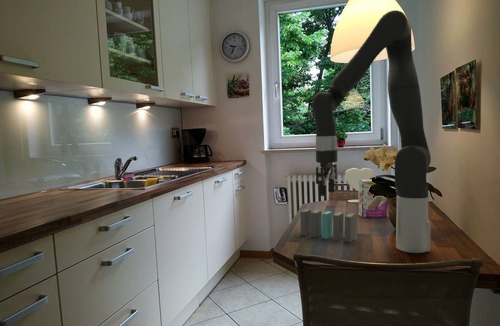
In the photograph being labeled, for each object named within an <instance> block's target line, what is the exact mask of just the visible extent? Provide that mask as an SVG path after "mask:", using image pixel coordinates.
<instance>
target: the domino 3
mask: <svg viewBox="0 0 500 326" xmlns="http://www.w3.org/2000/svg"><path fill="white" fill-rule="evenodd" d="M321 236H322V237H321V238H322V239H323V240H329V239H330V238H331V237H333V211H331V210H328V211H327V210H326V211H325V212H322V234H321Z"/></svg>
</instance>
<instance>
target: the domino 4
mask: <svg viewBox="0 0 500 326" xmlns="http://www.w3.org/2000/svg"><path fill="white" fill-rule="evenodd" d="M344 214H345V213H344V212H339V211H338V212H336V213H334V214H332V241H336V242H339V241H341V240H342V239H344V238H345V215H344Z"/></svg>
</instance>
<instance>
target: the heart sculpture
mask: <svg viewBox="0 0 500 326" xmlns="http://www.w3.org/2000/svg"><path fill="white" fill-rule="evenodd" d="M376 176H377V175H376V171H375V170H374V169H372V168H367V167H363V168H360V169H359V168H357V167H352V168H348V169H347V170H346V171H345V174H344V177H345V181H346V182H347V183H348V185H349V186H350V187H351V188H353V189H355V190H356V191H358V195H357V197H358V199H349V200H347V202H349V203H359V180H371V179H370V178H372V177H375V178H376Z"/></svg>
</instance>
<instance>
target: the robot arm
mask: <svg viewBox="0 0 500 326" xmlns="http://www.w3.org/2000/svg"><path fill="white" fill-rule="evenodd" d="M412 45H413V44H412V25H411V22H410V19H409V18H408V17H407V16H406V14H405V13H404V12H402V11H401V10H396V9H395V10H390V11H388V12H386V13H385V14H383V15H382V17H380V19H379V20H378V21H377V23H376V25H375V26H374V27H373V29H372V31H371V32H370V34H369V35H368V36H367V38H366V39H365V41H364V42H363V44H362V45H361V46H360V47H359V49H358V50H357V51H356V53H355V54H354V55H353V56H352V57H351V58H350V60H349V61H348V62H347V63H346V64H345V65H344V67H342V69H341V70H340V71H339V72H337V74H336V75H335V76H334V78H333V79H332V82H331V86H330V87H329V88H328V90H327V91H320V92H317V93H316V94H315V96H314V97H313V99H312V100H313V101H312V111H313V112H312V113H313V118H314V121H315V162H316V163H317V164H319V163H320V164H319V166H316V168H315V184H316V185H317V186H318V189H319V190H318V191H319V192H318V193H319V197H326V196H327V189H328V192H329V193H335V191H336V190H335V188H336V187H335V184H336V180H338V167H337V162H338V139H337V123H336V121H335V120H334V117H333V112H334V111H335V110H337V108H339V106H340V105H342V103H343V101H344V100H345V98H346V96H347V95H348V93H350V92H351V91H352V90H353V89H354V88H355V86H357V84H358V83H359V82H360V81H361V80H362V79H363V78H364V76H365V75H366V73H367V72H368V70H369V68H370V67H371V65H373V62H374V61H375V60H376V58H377V57H378V56H379V55H380V53H382V51H383V50H386V54H387V59H388V71H387V73H388V74H387V93H388V94H387V95H388V101H389V106H390V110H391V113H392V116H393V118H394V120H395V123H396V126H397V128H398V131H399V136H400V147H401V148H400V149H399V150H397V153H396V155H395V158H394V187H395V189H396V214H395V215H396V216H395V217H396V221H395V223H396V225H395V237H396V238H395V248H396V249H397V250H399V251H401V252H406V253H410V254H411V253H413V254H422V253H423V254H424V253H426V252H431V227H432V226H431V225H432V223H431V221H430V220H429V188H428V184H427V170H428V168H429V167H430V164H431V160H432V157H431V152H430V149H429V145H428V141H427V138H426V134H425V130H424V129H425V128H424V118H423V117H424V115H423V106H422V97H421V90H420V83H419V78H418V73H417V70H416V66H415V65H416V64H415V61H414V58H413V47H412ZM327 181H328V184H327ZM327 185H328V186H327ZM327 187H328V188H327Z"/></svg>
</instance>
